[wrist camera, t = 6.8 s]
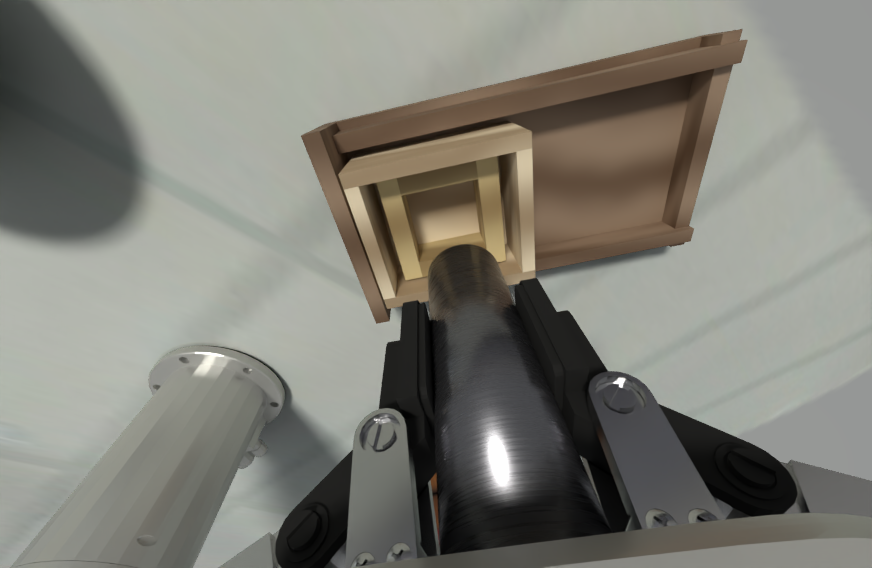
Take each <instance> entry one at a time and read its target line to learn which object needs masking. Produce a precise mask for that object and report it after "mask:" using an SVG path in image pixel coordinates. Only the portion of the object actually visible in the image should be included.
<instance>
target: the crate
mask: <svg viewBox="0 0 872 568" xmlns="http://www.w3.org/2000/svg"><path fill="white" fill-rule="evenodd" d="M338 175H339V178H340V181H341V184H342V186H343V189H344V192H345V195H346V197H347V200H348V203H349V206H350V208H351V211H352V214H353V217H354V219H355V222H356V225H357V227H358V230H359V233H360V236H361V238H362V241H363V244H364V247H365V249H366V252H367V255H368V258H369V260H370V263H371V266H372V269H373V271H374V274H375V277H376V280H377V282H378V285H379V288H380V291H381V293H382V296H383V299H384V302H385V304H386V307H387V309H390V308H395V307H400V306H403V303H405V302H410V301H415V300H418V301H419V303H421V302H426V301H429V297H428V270H429V267H430V265H431V263H432V262H433V260H434V259H435V258H436V256H437V255H439V254H440V253H441V252H442V251H444V250H446V249H448V248H450V247H452V246H456V245H461V244H472V245H477V246H480V247H482V248H484V249H486V250H488V251H489V252H490V253H491V254H492V255H493V256H494V257H495V259H496V261H497V262H498V265H499V267H500V270H501V272H502V274H503V277H504V279H505V281H506V284H507V286H508V285H514V284H519V283H520V281H521V280H527V279H532V278H535V242H534V201H533V160H532V131H530V130H528V129H526V128H523V127H521V126H519V125H516V124H514V123H512V122H510V121H507V120H506V121H502V122H498V123H493V124H489V125H484V126H480V127H476V128H471V129H467V130H462V131H458V132H453V133H449V134H445V135H440V136H436V137H431V138H427V139H423V140H418V141H414V142H409V143H405V144H401V145H396V146H392V147H387V148H383V149H379V150H374V151H370V152H365V153H361V154H356V155H354V156H353V157H352V158H351V160H350V161H349V162H348V163H347V164H346V166H345V167H344V168H343V169H342V171H341V172H340V173H339V174H338Z"/></svg>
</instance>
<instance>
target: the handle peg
mask: <svg viewBox="0 0 872 568" xmlns="http://www.w3.org/2000/svg"><path fill="white" fill-rule="evenodd" d="M428 297H429V319H430V332H431V354H432V375H433V397H434V431H435V454H436V476H437V498H438V521H439V543H440V555H446V554H454V553H461V552H469V551H477V550H484V549H492V548H500V547H508V546H515V545H523V544H531V543H539V542H546V541H554V540H562V539H570V538H578V537H586V536H593V535H601V534H610V533H612V531H611V528H610V526H609V524H608V521H607V519H606V516H605V514H604V512H603V509H602V507H601V505H600V502H599V500H598V498H597V495H596V493H595V491H594V488H593V486H592V484H591V481H590V479H589V476H588V474H587V472H586V469H585V467H584V465H583V462H582V460H581V458H580V455H579V453H578V451H577V448H576V446H575V444H574V441H573V439H572V437H571V434H570V432H569V429H568V427H567V425H566V422H565V420H564V418H563V415H562V413H561V411H560V408H559V406H558V404H557V401H556V399H555V397H554V395H553V392H552V390H551V388H550V385H549V383H548V381H547V378H546V376H545V373H544V371H543V369H542V366H541V364H540V362H539V359H538V357H537V355H536V352H535V350H534V348H533V345H532V343H531V340H530V338H529V336H528V333H527V331H526V329H525V326H524V324H523V322H522V319H521V317H520V315H519V312H518V310H517V307H516V305H515V302H514V300H513V298H512V295H511V293H510V291H509V288H508V286H507V284H506V281H505V279H504V277H503V274H502V272H501V270H500V267H499V265H498V262H497V261H496V259H495V257H494V256H493V255H492V254H491V253H490V252H489V251H488V250H486V249H484V248H482V247H480V246H477V245H472V244H461V245H456V246H452V247H450V248H448V249H446V250H444V251H442V252H441V253H440V254H439V255H437V256H436V258H435V259H434V260H433V262H432V263H431V265H430V267H429V270H428Z"/></svg>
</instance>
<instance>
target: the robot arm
mask: <svg viewBox="0 0 872 568" xmlns="http://www.w3.org/2000/svg"><path fill="white" fill-rule="evenodd" d="M515 303H516V307H517V310H518V312H519V315H520V317H521V319H522V322H523V324H524V326H525V329H526V331H527V333H528V336H529V338H530V340H531V343H532V345H533V348H534V350H535V352H536V355H537V357H538V359H539V362H540V364H541V366H542V369H543V371H544V373H545V376H546V378H547V381H548V383H549V385H550V388H551V390H552V392H553V395H554V397H555V399H556V401H557V404H558V406H559V408H560V411H561V413H562V415H563V418H564V420H565V422H566V425H567V427H568V429H569V432H570V434H571V437H572V439H573V441H574V444H575V446H576V448H577V451H578V453H579V455H580V456H582V461H583V464H584V467H585V469H586V472H587V474H588V476H589V479H590V481H591V484H592V486H593V488H594V491H595V493H596V495H597V498H598V500H599V502H600V505H601V507H602V509H603V512H604V514H605V516H606V519H607V521H608V524H609V526H610V528H611V531H612V533H610V534H601V535H593V536H586V537H578V538H570V539H562V540H554V541H546V542H539V543H531V544H523V545H515V546H508V547H500V548H492V549H484V550H477V551H469V552H461V553H454V554H446V555H440V547H439V539H438V532H437V524H436V517H435V510H434V502H433V495H432V487H431V481H430V480H431V478H432V477H433V476H434V475H435V473H436V454H435V431H434V397H433V375H432V354H431V332H430V319H429V316H428V312H427V308H426V305H425V303H421V304H420V303H419V301H418V300H415V301H410V302H405V303H403V306H402V320H401V334H400V340H399V341H394V342H388V344H387V347H386V354H385V362H384V371H383V379H382V387H381V396H380V404H379V409H378V410H376V411H374V412H372V413H370V414H369V415H367V416H366V417H365V418H364V419H363V420H362V421H361V422H360V424H359V425H358V427H357V429H356V431H355V435H354V441H353V450H352V451H351V452H350V453H349V454H348V455H347V456H346V457H345V458H344V459H343V460H342V461H341V462H340V463H339V464H338V465H337V466H336V467H335V468H334V469H333V470H332V471H331V472H330V473H329V474H328V475H327V476H326V477H325V478H324V479H323V480H322V481H321V482H320V483H319V484H318V485H317V486H316V487H315V488H314V489H313V490H312V491H311V492H310V493H309V494H308V495H307V496H306V497H305V498H304V499H303V500H302V501H301V502H300V503H299V504H298V505H297V506H296V507H295V508H294V509H293V511H292V512H291V513H290V514H289V515H288V517H287V518H286V519H285V521H284V523H283V525H282V526H281V528H280V530H279V531H277V532H276V533H274V534H273V535H272V534H271V533H268V534H266V535H265V536H263V537H262V538H260V539H259V540H258V541H256V542H255V543H253V544H252V545H250V546H249V547H247V548H246V549H245V550H243V551H242V552H240V553H239V554H237V555H236V556H234V557H233V558H232V559H230V560H229V561H227V562H226V563H224V564H223V565H221V566H220V567H219V568H872V481H870V480H866V479H862V478H858V477H855V476H851V475H846V474H843V473H839V472H835V471H832V470H828V469H824V468H820V467H816V466H812V465H808V464H805V463H801V462H797V461H793V460H790V461H789V462H788V463H783V462H779V461H778V460H777V459H775V458H774V457H773V456H771V455H770V454H769V453H767V452H766V451H764V450H762V449H761V448H759V447H757V446H755V445H753V444H751V443H749V442H746V441H744V440H741V439H739V438H737V437H735V436H732V435H730V434H728V433H725V432H723V431H720V430H718V429H716V428H713V427H711V426H709V425H706V424H704V423H702V422H699V421H697V420H695V419H692V418H690V417H688V416H685V415H683V414H681V413H678V412H676V411H674V410H671V409H669V408H667V407H664V406H662V405H660V404H658V403H657V401H656V399H655V398H654V396H653V394H652V393H651V391H650V390H649V389H648V387H647V386H646V385H645V384H644V383H642V382H641V381H640V380H638V379H637V378H635V377H633V376H631V375H629V374H626V373H622V372H615V371H607V369H606V368H605V366H604V364H603V363H602V361H601V360H600V358H599V357H598V355H597V353H596V352H595V350H594V349H593V347H592V346H591V344H590V343H589V341H588V339H587V338H586V336H585V335H584V333H583V332H582V330H581V329H580V327H579V325H578V324H577V322H576V321H575V319H574V318H573V316H572V315H571V313H570V312H569V311H567V310H566V311H561V312H556V310H555V308H554V306H553V305H552V303H551V301H550V300H549V298H548V296H547V295H546V293H545V291H544V289H543V288H542V286H541V284H540V283H539V281H538V279H537V278H532V279H527V280H521V281H520V283H519V285H517V286H515ZM148 381H149V387H150V390H151V392H152V394H153V396H152V398H151V399H150V400H149V401H148V402H147V404H146V405H145V406H144V407H143V408H142V410H141V411H140V412H139V413H138V414H137V416H136V417H135V418H134V419H133V420H132V422H131V423H130V424H129V425H128V426H127V428H126V429H125V430H124V431H123V432H122V434H121V435H120V436H119V437H118V438H117V440H116V441H115V442H114V443H113V444H112V446H111V447H110V448H109V449H108V450H107V452H106V453H105V454H104V455H103V456H102V458H101V459H100V460H99V461H98V462H97V464H96V465H95V466H94V467H93V468H92V470H91V471H90V472H89V473H88V474H87V476H86V477H85V478H84V479H83V480H82V482H81V483H80V484H79V485H78V486H77V488H76V489H75V490H74V491H73V492H72V494H71V495H70V496H69V497H68V498H67V500H66V501H65V502H64V503H63V505H62V506H61V507H60V508H59V509H58V511H57V512H56V513H55V514H54V515H53V517H52V518H51V519H50V520H49V521H48V523H47V524H46V525H45V526H44V527H43V529H42V530H41V531H40V532H39V533H38V535H37V536H36V537H35V538H34V539H33V541H32V542H31V543H30V544H29V545H28V547H27V548H26V549H25V550H24V551H23V553H22V554H21V555H20V556H19V557H18V559H17V560H16V561H15V562H14V563H13V565H12V566H11V567H10V568H193V566H194V564H195V562H196V560H197V557H198V555H199V553H200V551H201V549H202V547H203V544H204V542H205V540H206V538H207V536H208V533H209V531H210V529H211V527H212V525H213V522H214V520H215V518H216V516H217V514H218V512H219V509H220V507H221V505H222V503H223V501H224V498H225V496H226V494H227V492H228V490H229V487H230V485H231V483H232V481H233V479H234V477H235V474H236V472H237V470H238V468H240V469H244V468H246V467H248V466H249V465H250V464H251V463H252V461H253V460H254V457H255V456H256V457H261V456H263V455H264V454H265V453H266V452H267V449H268V447H267V446H266V444H265V443H264V442H263V441H262V440H260V439H259V436H260V434H261V431H262V429H263V427H264V425H266V424H268V423H270V422H271V421H273V420H274V419H275V418H276V417H277V416H278V415H279V413H280V411H281V409H282V407H283V404H284V401H285V391H284V388H283V385H282V383H281V381H280V380H279V379H278V377H277V376H276V375H275V374H274V373H273V372H272V371H271V370H270V369H269V368H268V367H266V366H265V365H263V364H262V363H261V362H259V361H257V360H255V359H253V358H251V357H250V356H248V355H245V354H242V353H239V352H237V351H234V350H229V349H225V348H220V347H212V346H192V347H185V348H180V349H177V350H174V351H171V352H170V353H168V354H166V355H165V356H163V357H162V358H161V359H160V360H159V361H158V362H157V363H156V364H155V365H154V367H153V368H152V370H151V371H150V374H149V379H148Z"/></svg>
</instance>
